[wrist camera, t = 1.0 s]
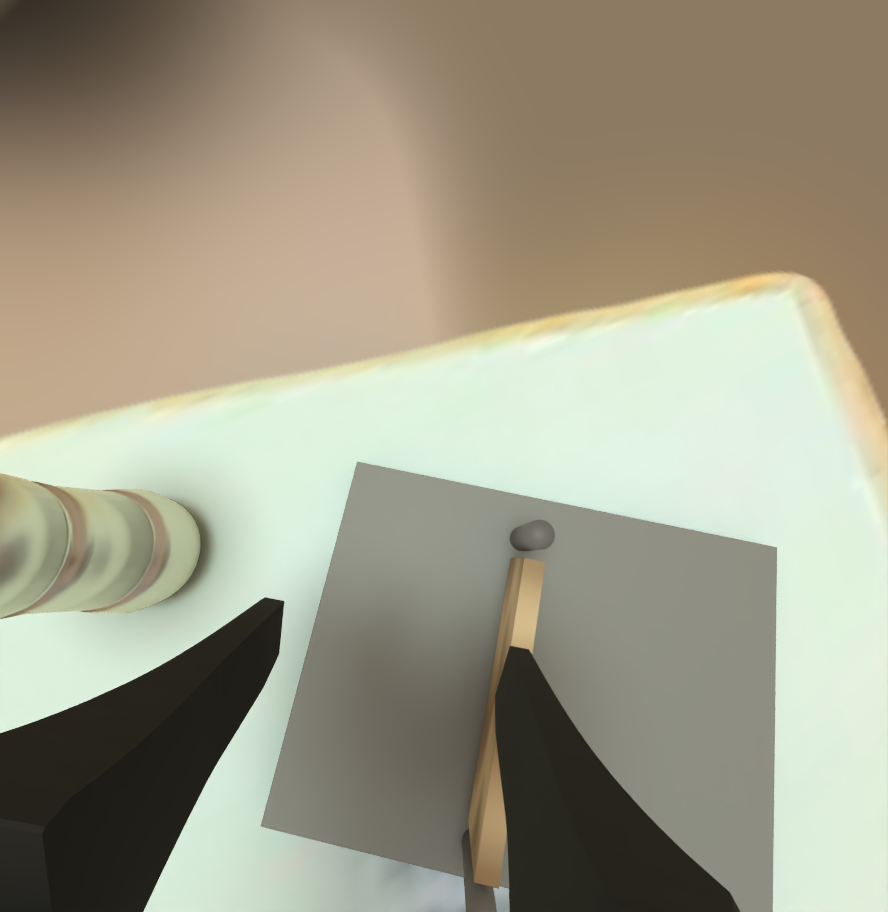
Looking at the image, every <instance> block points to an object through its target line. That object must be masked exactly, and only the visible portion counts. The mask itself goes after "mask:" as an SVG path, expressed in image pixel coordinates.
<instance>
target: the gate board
mask: <svg viewBox="0 0 888 912" xmlns="http://www.w3.org/2000/svg"><path fill="white" fill-rule="evenodd" d="M511 558H527V559H531V560H536V561H541V562H545V569H544V576H543V583H542V590H541V597H540V604H539V611H538V618H537V625H536V632H535V639H534V646H533V653H532V655H533V657H534V659H535V661H536V662H537V664H538V666H539V668H540V669H541V671H542V673H543V675H544V676H545V678H546V680H547V682H548V683H549V685H550V687H551V689H552V690H553V692H554V694H555V695H556V697H557V698H558V700H559V702H560V703H561V705H562V706H563V708H564V710H565V711H566V713H567V714H568V716H569V718H570V719H571V721H572V722H573V724H574V725H575V727H576V728H577V729H578V731H579V732H580V734H581V735H582V737H583V738H584V740H585V741H586V742H587V744H588V745H589V746H590V748H591V749H592V750H593V752H594V753H595V754H596V756H597V757H598V758H599V759H600V761H601V762H602V763H603V764H604V766H605V767H606V768H607V769H608V771H609V772H610V773H611V775H612V776H613V777H614V778H615V779H616V780H617V782H618V783H619V784H620V785H621V786H622V787H623V789H624V790H625V791H626V792H627V793H628V794H629V795H630V796H631V797H632V799H633V800H634V801H635V802H636V803H637V804H638V805H639V806H640V807H641V809H642V810H643V811H644V812H645V813H646V814H647V815H648V816H649V817H650V818H651V819H652V820H653V821H654V822H655V823H656V824H657V825H658V826H659V827H660V828H661V829H662V830H663V831H664V832H665V833H666V834H667V835H668V836H669V837H670V838H671V839H672V840H673V841H674V842H675V843H676V844H677V845H678V846H679V847H680V848H681V849H682V850H683V851H684V852H685V853H686V854H687V855H689V856H690V857H691V858H692V859H693V860H694V861H695V862H696V863H698V864H699V865H700V866H701V867H702V868H703V869H704V870H705V871H707V872H708V873H709V874H710V875H711V876H712V877H713V878H714V879H716V880H717V881H718V882H719V883H720V884H721V885H722V886H723V887H725V888H726V889H727V890H728V891H729V892H730V893H731V895H732V897H733V899H734V901H735V902H736V904H737V906H738V908H739V910H740V912H773V829H774V746H775V662H776V579H777V547H772V546H767V545H762V544H757V543H752V542H747V541H743V540H738V539H733V538H728V537H723V536H718V535H713V534H708V533H703V532H698V531H694V530H689V529H684V528H679V527H674V526H669V525H664V524H659V523H654V522H649V521H645V520H640V519H635V518H630V517H625V516H620V515H615V514H610V513H605V512H601V511H596V510H591V509H586V508H581V507H576V506H571V505H566V504H561V503H556V502H552V501H547V500H542V499H537V498H532V497H527V496H522V495H517V494H512V493H508V492H503V491H498V490H493V489H488V488H483V487H478V486H473V485H468V484H463V483H459V482H454V481H449V480H444V479H439V478H434V477H429V476H424V475H419V474H414V473H410V472H405V471H400V470H395V469H390V468H385V467H380V466H375V465H370V464H366V463H361V462H357V465H356V468H355V472H354V476H353V480H352V483H351V487H350V491H349V495H348V499H347V502H346V506H345V510H344V514H343V517H342V521H341V525H340V529H339V533H338V536H337V540H336V544H335V548H334V551H333V555H332V559H331V563H330V567H329V570H328V574H327V578H326V582H325V585H324V589H323V593H322V597H321V601H320V604H319V608H318V612H317V616H316V619H315V623H314V627H313V631H312V635H311V638H310V642H309V646H308V650H307V653H306V657H305V661H304V665H303V669H302V672H301V676H300V680H299V684H298V687H297V691H296V695H295V699H294V703H293V706H292V710H291V714H290V718H289V721H288V725H287V729H286V733H285V737H284V740H283V744H282V748H281V752H280V755H279V759H278V763H277V767H276V771H275V774H274V778H273V782H272V786H271V789H270V793H269V797H268V801H267V805H266V808H265V812H264V816H263V820H262V823H261V827H265V828H269V829H273V830H277V831H281V832H285V833H289V834H293V835H297V836H301V837H305V838H309V839H313V840H317V841H321V842H325V843H329V844H333V845H337V846H341V847H345V848H349V849H353V850H357V851H361V852H365V853H369V854H373V855H377V856H381V857H385V858H389V859H393V860H397V861H401V862H405V863H409V864H413V865H417V866H421V867H425V868H429V869H433V870H437V871H441V872H445V873H449V874H453V875H457V876H461V877H464V885H465V901H466V912H497V911H496V904H495V897H494V891H493V887H490V886H486V885H482V884H478V883H474V877H473V866H472V856H471V845H470V835H469V824H468V818H469V811H470V805H471V799H472V793H473V787H474V781H475V775H476V768H477V762H478V756H479V750H480V744H481V738H482V732H483V726H484V719H485V713H486V707H487V701H488V695H489V689H490V683H491V676H492V670H493V664H494V658H495V652H496V646H497V640H498V634H499V627H500V621H501V615H502V609H503V603H504V597H505V591H506V584H507V578H508V572H509V566H510V560H511ZM499 886H501V887H505V888H509V868H508V843H507V835H506V842H505V849H504V856H503V863H502V870H501V877H500V884H499Z"/></svg>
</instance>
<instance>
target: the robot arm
mask: <svg viewBox="0 0 888 912" xmlns="http://www.w3.org/2000/svg"><path fill="white" fill-rule="evenodd" d="M283 607H284V601H280V600H275V599H270V598H263V599H262V600H260V601H259V602H257V603H256V604H254V605H253V606H252V607H250V608H249V609H247V610H246V611H245V612H243V613H242V614H240V615H239V616H238V617H236V618H235V619H233V620H232V621H230V622H229V623H228V624H226V625H225V626H223V627H222V628H220V629H219V630H217V631H216V632H214V633H213V634H211V635H210V636H208V637H207V638H205V639H204V640H202V641H201V642H199V643H197V644H196V645H194V646H193V647H191V648H189V649H188V650H186V651H184V652H183V653H181V654H180V655H178V656H176V657H175V658H173V659H171V660H170V661H168V662H166V663H164V664H162V665H161V666H159V667H157V668H155V669H153V670H151V671H150V672H148V673H146V674H144V675H142V676H140V677H138V678H136V679H134V680H132V681H130V682H128V683H126V684H124V685H121V686H119V687H117V688H115V689H113V690H110V691H108V692H106V693H104V694H102V695H99V696H97V697H95V698H93V699H91V700H88V701H86V702H84V703H81V704H79V705H76V706H74V707H72V708H69V709H67V710H64V711H62V712H59V713H56V714H54V715H51V716H48V717H46V718H43V719H41V720H38V721H35V722H32V723H30V724H27V725H24V726H21V727H18V728H15V729H12V730H9V731H6V732H3V733H0V912H143V911H144V909H145V907H146V905H147V902H148V900H149V898H150V896H151V894H152V892H153V890H154V888H155V885H156V883H157V881H158V879H159V877H160V875H161V873H162V871H163V868H164V866H165V864H166V862H167V860H168V858H169V856H170V854H171V852H172V850H173V848H174V846H175V844H176V842H177V840H178V838H179V836H180V834H181V832H182V829H183V827H184V825H185V823H186V821H187V819H188V817H189V815H190V813H191V811H192V809H193V807H194V806H195V804H196V802H197V800H198V798H199V796H200V794H201V792H202V790H203V788H204V786H205V784H206V782H207V780H208V778H209V776H210V775H211V773H212V771H213V769H214V768H215V766H216V764H217V762H218V761H219V759H220V757H221V756H222V754H223V752H224V751H225V749H226V748H227V746H228V744H229V743H230V741H231V739H232V738H233V736H234V735H235V733H236V731H237V730H238V728H239V726H240V725H241V723H242V722H243V720H244V718H245V717H246V715H247V713H248V712H249V710H250V708H251V707H252V705H253V704H254V702H255V700H256V699H257V697H258V695H259V694H260V692H261V690H262V689H263V687H264V685H265V683H266V681H267V679H268V677H269V675H270V672H271V670H272V668H273V666H274V664H275V662H276V659H277V657H278V655H279V649H280V638H281V628H282V618H283ZM495 733H496V742H497V751H498V759H499V768H500V776H501V784H502V792H503V800H504V808H505V817H506V828H507V843H508V868H509V899H510V912H740V910H739V908H738V906H737V904H736V902H735V901H734V899H733V897H732V895H731V893H730V892H729V891H728V890H727V889H726V888H725V887H723V886H722V885H721V884H720V883H719V882H718V881H717V880H716V879H714V878H713V877H712V876H711V875H710V874H709V873H708V872H707V871H705V870H704V869H703V868H702V867H701V866H700V865H699V864H698V863H696V862H695V861H694V860H693V859H692V858H691V857H690V856H689V855H687V854H686V853H685V852H684V851H683V850H682V849H681V848H680V847H679V846H678V845H677V844H676V843H675V842H674V841H673V840H672V839H671V838H670V837H669V836H668V835H667V834H666V833H665V832H664V831H663V830H662V829H661V828H660V827H659V826H658V825H657V824H656V823H655V822H654V821H653V820H652V819H651V818H650V817H649V816H648V815H647V814H646V813H645V812H644V811H643V810H642V809H641V807H640V806H639V805H638V804H637V803H636V802H635V801H634V800H633V799H632V797H631V796H630V795H629V794H628V793H627V792H626V791H625V790H624V789H623V787H622V786H621V785H620V784H619V783H618V782H617V780H616V779H615V778H614V777H613V776H612V775H611V773H610V772H609V771H608V769H607V768H606V767H605V766H604V764H603V763H602V762H601V761H600V759H599V758H598V757H597V756H596V754H595V753H594V752H593V750H592V749H591V748H590V746H589V745H588V744H587V742H586V741H585V740H584V738H583V737H582V735H581V734H580V732H579V731H578V729H577V728H576V727H575V725H574V724H573V722H572V721H571V719H570V718H569V716H568V714H567V713H566V711H565V710H564V708H563V706H562V705H561V703H560V702H559V700H558V698H557V697H556V695H555V694H554V692H553V690H552V689H551V687H550V685H549V683H548V682H547V680H546V678H545V676H544V675H543V673H542V671H541V669H540V668H539V666H538V664H537V662H536V661H535V659H534V657H533V655H532V653H531V652H530V650H529V649H525V648H520V647H514V646H510V647H509V650H508V654H507V657H506V660H505V664H504V667H503V671H502V674H501V677H500V681H499V684H498V687H497V691H496V694H495Z"/></svg>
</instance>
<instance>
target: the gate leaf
mask: <svg viewBox="0 0 888 912" xmlns="http://www.w3.org/2000/svg"><path fill="white" fill-rule="evenodd" d="M544 569H545V562H541V561H536V560H531V559H527V558H511V560H510V566H509V572H508V578H507V584H506V591H505V597H504V603H503V609H502V615H501V621H500V627H499V634H498V640H497V646H496V652H495V658H494V664H493V670H492V676H491V683H490V689H489V695H488V701H487V707H486V713H485V719H484V726H483V732H482V738H481V744H480V750H479V756H478V762H477V768H476V775H475V781H474V787H473V793H472V799H471V805H470V811H469V818H468V824H469V835H470V845H471V856H472V866H473V877H474V883H478V884H482V885H486V886H490V887H494V888H498V889H499V884H500V877H501V870H502V863H503V856H504V849H505V842H506V835H507V828H506V817H505V808H504V800H503V792H502V784H501V776H500V768H499V759H498V751H497V742H496V733H495V694H496V691H497V687H498V684H499V681H500V677H501V674H502V671H503V667H504V664H505V660H506V657H507V654H508V650H509V647H510V646H514V647H520V648H525V649H529V650H530V652H531V653H533V646H534V639H535V632H536V625H537V618H538V611H539V604H540V597H541V590H542V583H543V576H544Z"/></svg>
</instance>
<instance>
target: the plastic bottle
mask: <svg viewBox="0 0 888 912" xmlns="http://www.w3.org/2000/svg"><path fill="white" fill-rule="evenodd" d="M200 544H201V541H200V534H199V530H198V527H197V524H196V522H195V520H194V519H193V517H192V516H191V514H190V513H189V512H188V511H187V510H186V509H185V508H184V507H182V506H181V505H179V504H178V503H176V502H174V501H172V500H170V499H168V498H166V497H164V496H162V495H159V494H157V493H154V492H150V491H143V490H127V489H118V490H91V489H80V488H69V487H59V486H52V485H47V484H43V483H39V482H33V481H29V480H26V479H22V478H18V477H14V476H9V475H5V474H1V473H0V619H3V618H8V617H13V616H18V615H23V614H31V613H49V612H67V611H82V612H90V613H128V612H133V611H137V610H141V609H143V608H146V607H148V606H150V605H153V604H155V603H157V602H160V601H162V600H164V599H166V598H168V597H170V596H171V595H173V594H174V593H175V592H177V591H178V590H179V589H180V588H181V587H182V586H183V585H184V584H185V583H186V582H187V580H188V579H189V578H190V576H191V575H192V573H193V571H194V569H195V567H196V565H197V562H198V558H199V554H200Z"/></svg>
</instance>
